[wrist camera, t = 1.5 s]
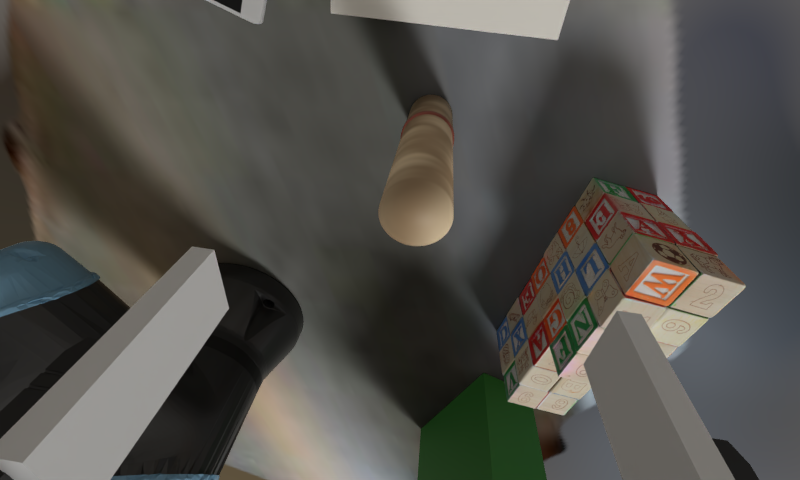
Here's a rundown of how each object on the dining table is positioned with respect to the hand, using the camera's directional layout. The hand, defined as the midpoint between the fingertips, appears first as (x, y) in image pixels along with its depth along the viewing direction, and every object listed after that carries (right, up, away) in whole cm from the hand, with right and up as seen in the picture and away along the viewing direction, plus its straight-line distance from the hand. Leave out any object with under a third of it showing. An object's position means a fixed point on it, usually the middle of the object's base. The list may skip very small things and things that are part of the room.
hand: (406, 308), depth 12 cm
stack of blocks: (+17, -1, +26) cm, 31 cm away
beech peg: (+2, +13, +18) cm, 22 cm away
